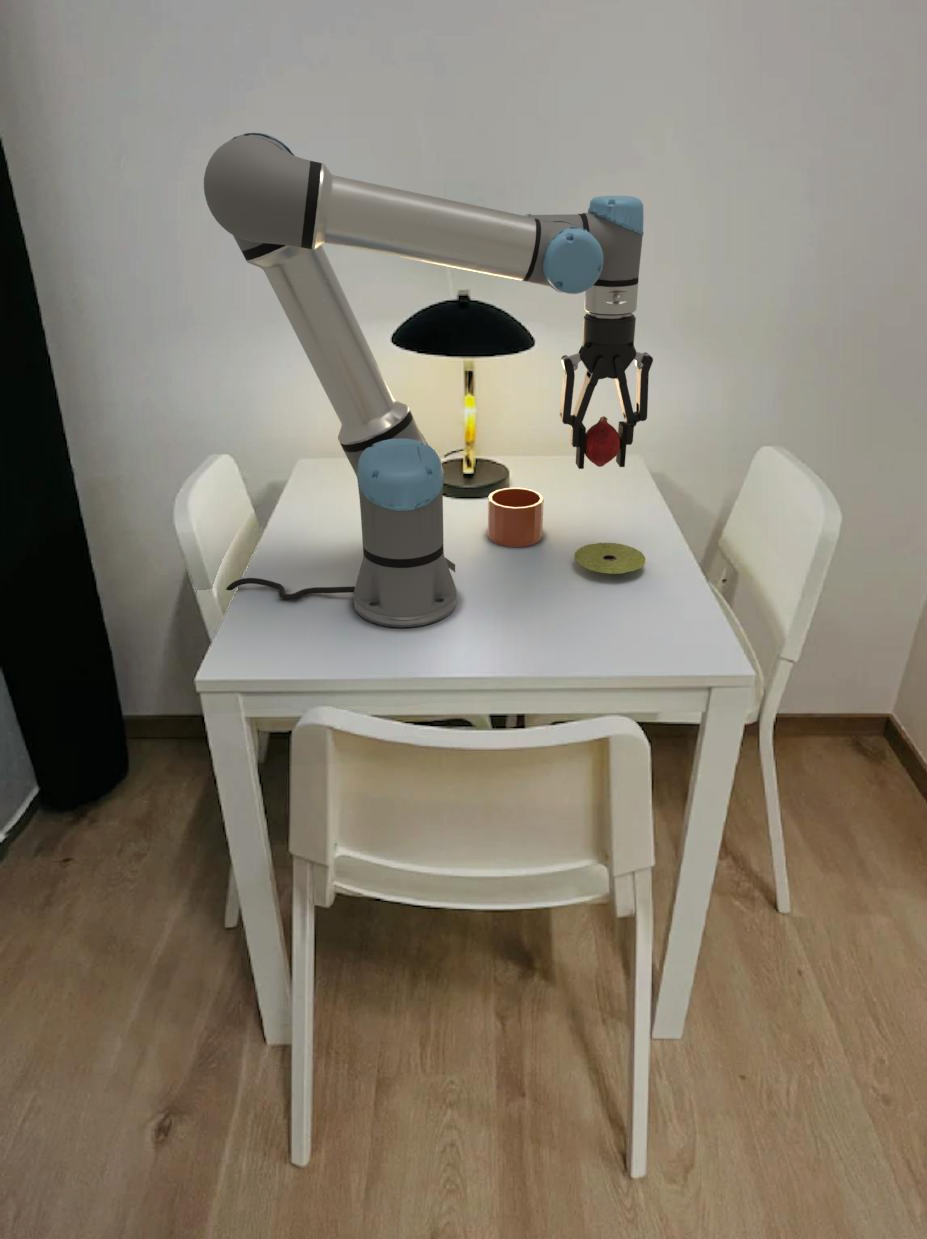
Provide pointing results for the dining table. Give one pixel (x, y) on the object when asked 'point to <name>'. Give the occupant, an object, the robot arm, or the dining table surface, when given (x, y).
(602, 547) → the mat
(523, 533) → the flower pot
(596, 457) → the onion
